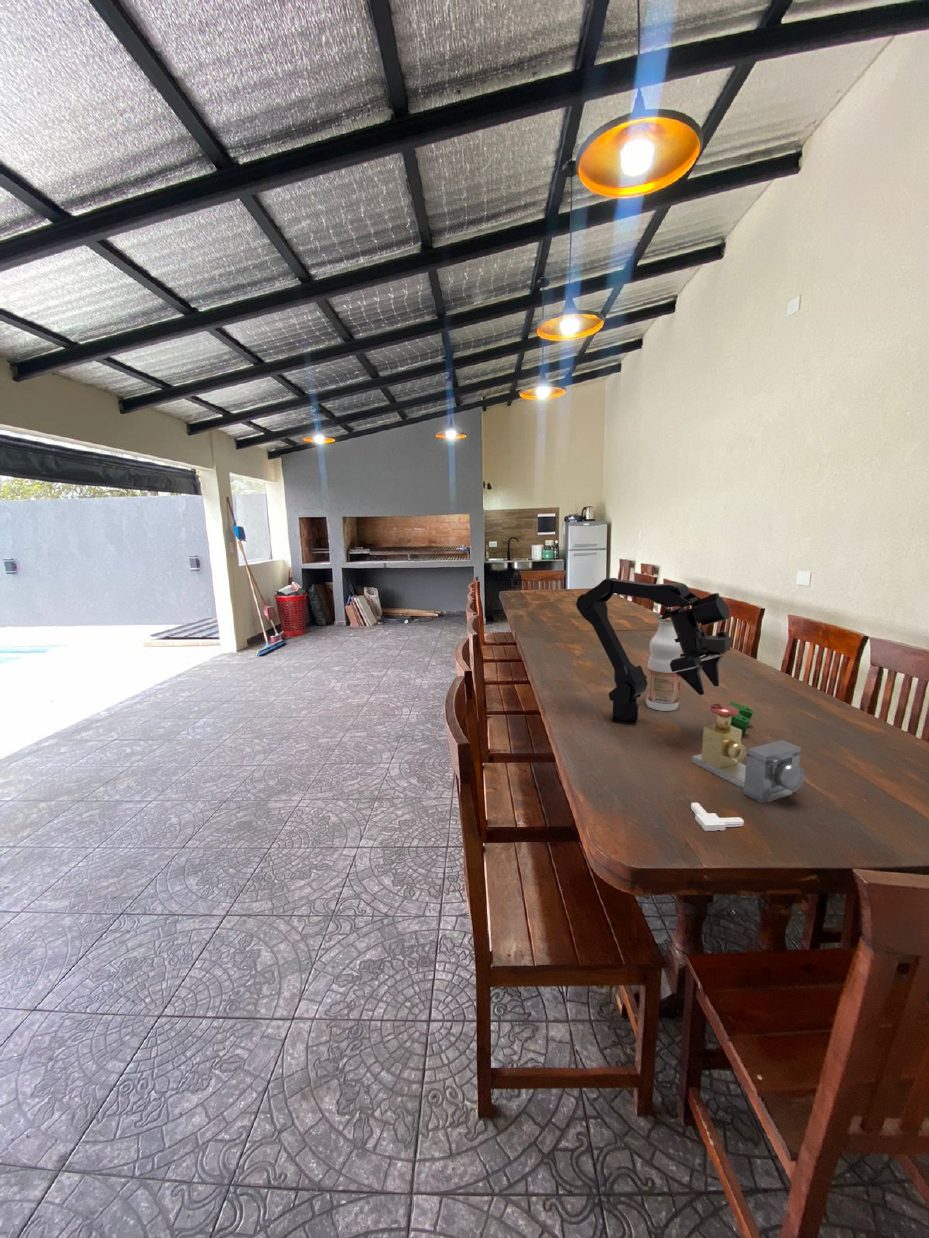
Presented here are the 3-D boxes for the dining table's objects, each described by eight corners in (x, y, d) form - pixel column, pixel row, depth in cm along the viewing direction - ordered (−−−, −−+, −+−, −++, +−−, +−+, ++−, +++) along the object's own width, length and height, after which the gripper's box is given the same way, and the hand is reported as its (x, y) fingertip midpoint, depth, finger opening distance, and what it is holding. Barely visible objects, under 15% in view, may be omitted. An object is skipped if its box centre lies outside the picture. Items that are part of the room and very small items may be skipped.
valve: (700, 758, 116) (704, 706, 114) (718, 753, 118) (723, 702, 116) (729, 773, 109) (734, 717, 107) (748, 767, 111) (753, 713, 109)
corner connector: (724, 807, 100) (724, 800, 99) (747, 831, 92) (748, 823, 91) (684, 808, 99) (685, 801, 99) (704, 833, 91) (705, 825, 91)
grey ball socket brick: (686, 763, 117) (689, 723, 115) (718, 755, 121) (722, 716, 119) (775, 810, 97) (781, 763, 96) (810, 798, 101) (816, 753, 100)
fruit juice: (639, 702, 157) (644, 614, 152) (665, 699, 160) (670, 613, 154) (658, 713, 148) (663, 620, 143) (685, 709, 151) (691, 618, 145)
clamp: (737, 750, 133) (747, 727, 128) (714, 740, 136) (722, 717, 131) (749, 721, 141) (758, 699, 135) (726, 712, 144) (735, 690, 138)
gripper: (703, 627, 115) (727, 693, 113) (733, 616, 127) (756, 675, 125) (659, 640, 123) (681, 701, 121) (692, 628, 135) (712, 684, 133)
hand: (709, 690), depth 125 cm, fingers open, 9 cm apart
